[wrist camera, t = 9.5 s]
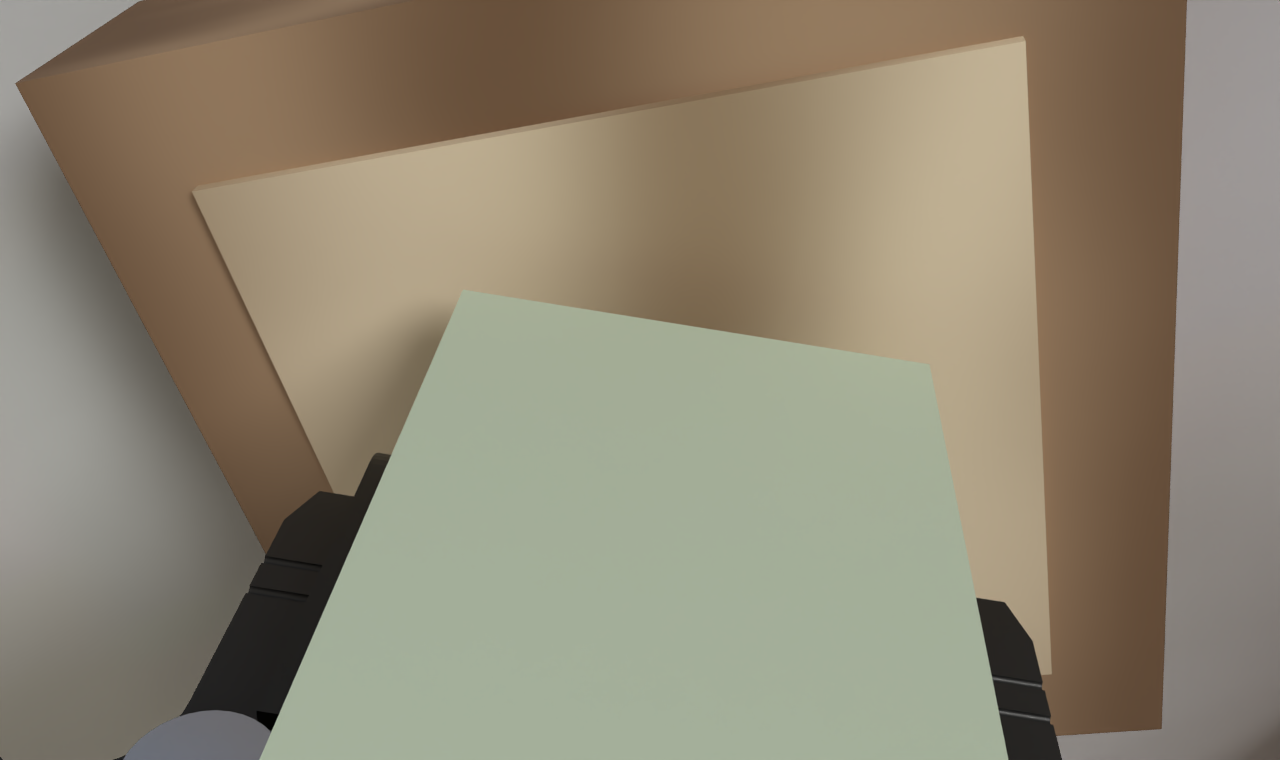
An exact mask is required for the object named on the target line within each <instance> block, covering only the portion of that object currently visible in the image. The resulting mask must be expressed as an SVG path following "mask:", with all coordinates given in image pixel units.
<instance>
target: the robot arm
mask: <svg viewBox="0 0 1280 760" xmlns="http://www.w3.org/2000/svg"><path fill="white" fill-rule="evenodd" d="M390 457H391V455H390V454H383V453H375V454H374V455H373V457H372V458H371V460H370V462H369V464H368V467H367V469H366V471H365V473H364V475H363V478H362V480H361V482H360V484H359V486H358V489H357V491H356V493H355V495H354V496H348V495H342V494H336V493H330V492H323V491H319V492H317V493H316V494H315V495H314V496H312V497H311V498H310V499H309V500H308V501H306V502H305V503H304V504H303V505H301V506H300V507H299V508H298V509H296V510H295V511H294V512H293V513H292V514H290V515H289V516H288V517H287V518H285V519H284V521H283V523H282V524H281V526H280V528H279V530H278V532H277V534H276V536H275V538H274V540H273V542H272V544H271V546H270V548H269V550H268V551H267V553H266V555H265V561H264V563H261V565H260V567H259V569H258V571H257V573H256V575H255V577H254V578H253V580H252V582H251V584H250V589H249V592H248V593H246V594H245V596H244V598H243V600H242V602H241V604H240V605H239V607H238V609H237V611H236V613H235V615H234V617H233V619H232V621H231V623H230V625H229V627H228V629H227V630H226V632H225V634H224V636H223V638H222V640H221V642H220V644H219V646H218V648H217V650H216V652H215V654H214V656H213V657H212V659H211V661H210V663H209V665H208V667H207V669H206V671H205V673H204V675H203V677H202V679H201V681H200V683H199V684H198V686H197V688H196V690H195V692H194V694H193V696H192V698H191V700H190V702H189V703H188V705H187V707H186V708H185V710H184V711H183V713H182V714H181V715H180V717H177V718H174V719H172V720H169V721H167V722H165V723H163V724H161V725H159V726H158V727H156V728H155V729H153V730H151V731H150V732H148V733H147V734H146V735H145V736H144V737H142V738H141V739H140V740H139V741H138V742H137V743H136V744H135V745H134V746H133V747H132V748H131V749H130V750H129V751H128V753H127V754H126V755H125V756H123V757H120V758H117V759H114V760H259V759H260V757H261V755H262V752H263V750H264V748H265V746H266V743H267V741H268V739H269V736H270V734H271V732H272V729H273V727H274V725H275V722H276V720H277V718H278V716H279V713H280V711H281V709H282V706H283V704H284V702H285V699H286V697H287V695H288V692H289V690H290V688H291V686H292V683H293V681H294V679H295V676H296V674H297V672H298V669H299V667H300V665H301V662H302V660H303V658H304V655H305V653H306V651H307V649H308V646H309V644H310V642H311V639H312V637H313V635H314V632H315V630H316V628H317V625H318V623H319V621H320V619H321V616H322V614H323V612H324V609H325V607H326V605H327V602H328V600H329V598H330V595H331V593H332V591H333V589H334V586H335V584H336V582H337V579H338V577H339V575H340V572H341V570H342V568H343V565H344V563H345V561H346V558H347V556H348V554H349V552H350V549H351V547H352V545H353V542H354V540H355V538H356V535H357V533H358V531H359V528H360V526H361V524H362V522H363V519H364V517H365V515H366V512H367V510H368V508H369V505H370V503H371V501H372V498H373V496H374V494H375V492H376V489H377V487H378V485H379V482H380V480H381V478H382V475H383V473H384V471H385V468H386V466H387V464H388V462H389V459H390ZM976 600H977V605H978V610H979V615H980V620H981V625H982V630H983V635H984V640H985V645H986V650H987V655H988V660H989V665H990V670H991V675H992V680H993V685H994V690H995V695H996V700H997V705H998V710H999V715H1000V720H1001V725H1002V730H1003V735H1004V740H1005V745H1006V750H1007V755H1008V760H1062V758H1061V754H1060V750H1059V746H1058V742H1057V738H1056V734H1055V730H1054V726H1053V725H1052V724H1050V718H1051V713H1050V709H1049V705H1048V701H1047V697H1046V693H1045V690H1042V683H1043V681H1042V677H1041V673H1040V669H1039V665H1038V660H1037V656H1036V652H1035V648H1034V644H1033V641H1032V639H1031V638H1030V637H1029V635H1028V634H1027V632H1026V631H1025V630H1024V628H1023V627H1022V625H1021V624H1020V623H1019V621H1018V620H1017V618H1016V617H1015V616H1014V614H1013V613H1012V611H1011V610H1010V609H1009V607H1008V606H1007V604H1006V603H1005V602H1001V601H994V600H988V599H982V598H976ZM0 760H2V758H1V757H0Z"/></svg>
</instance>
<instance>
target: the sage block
mask: <svg viewBox="0 0 1280 760" xmlns="http://www.w3.org/2000/svg"><path fill="white" fill-rule="evenodd" d="M259 760H1008V755H1007V750H1006V745H1005V740H1004V735H1003V730H1002V725H1001V720H1000V715H999V710H998V705H997V700H996V695H995V690H994V685H993V680H992V675H991V670H990V665H989V660H988V655H987V650H986V645H985V640H984V635H983V630H982V625H981V620H980V615H979V610H978V605H977V600H976V595H975V590H974V585H973V580H972V575H971V570H970V565H969V560H968V555H967V550H966V545H965V540H964V535H963V530H962V525H961V520H960V515H959V510H958V505H957V500H956V495H955V490H954V485H953V480H952V475H951V470H950V465H949V460H948V455H947V450H946V445H945V440H944V435H943V430H942V425H941V419H940V414H939V409H938V404H937V399H936V394H935V389H934V384H933V379H932V374H931V369H930V364H925V363H918V362H912V361H906V360H900V359H893V358H887V357H881V356H875V355H868V354H862V353H856V352H850V351H843V350H837V349H831V348H825V347H818V346H812V345H806V344H800V343H793V342H787V341H781V340H775V339H769V338H762V337H756V336H750V335H744V334H737V333H731V332H725V331H719V330H712V329H706V328H700V327H694V326H687V325H681V324H675V323H669V322H662V321H656V320H650V319H644V318H637V317H631V316H625V315H619V314H612V313H606V312H600V311H594V310H588V309H581V308H575V307H569V306H563V305H556V304H550V303H544V302H538V301H531V300H525V299H519V298H513V297H506V296H500V295H494V294H488V293H481V292H475V291H469V290H463V291H462V293H461V295H460V298H459V300H458V302H457V304H456V307H455V309H454V311H453V314H452V316H451V318H450V321H449V323H448V325H447V328H446V330H445V332H444V334H443V337H442V339H441V341H440V344H439V346H438V348H437V351H436V353H435V355H434V358H433V360H432V362H431V365H430V367H429V369H428V371H427V374H426V376H425V378H424V381H423V383H422V385H421V388H420V390H419V392H418V395H417V397H416V399H415V401H414V404H413V406H412V408H411V411H410V413H409V415H408V418H407V420H406V422H405V425H404V427H403V429H402V431H401V434H400V436H399V438H398V441H397V443H396V445H395V448H394V450H393V452H392V455H391V457H390V459H389V462H388V464H387V466H386V468H385V471H384V473H383V475H382V478H381V480H380V482H379V485H378V487H377V489H376V492H375V494H374V496H373V498H372V501H371V503H370V505H369V508H368V510H367V512H366V515H365V517H364V519H363V522H362V524H361V526H360V528H359V531H358V533H357V535H356V538H355V540H354V542H353V545H352V547H351V549H350V552H349V554H348V556H347V558H346V561H345V563H344V565H343V568H342V570H341V572H340V575H339V577H338V579H337V582H336V584H335V586H334V589H333V591H332V593H331V595H330V598H329V600H328V602H327V605H326V607H325V609H324V612H323V614H322V616H321V619H320V621H319V623H318V625H317V628H316V630H315V632H314V635H313V637H312V639H311V642H310V644H309V646H308V649H307V651H306V653H305V655H304V658H303V660H302V662H301V665H300V667H299V669H298V672H297V674H296V676H295V679H294V681H293V683H292V686H291V688H290V690H289V692H288V695H287V697H286V699H285V702H284V704H283V706H282V709H281V711H280V713H279V716H278V718H277V720H276V722H275V725H274V727H273V729H272V732H271V734H270V736H269V739H268V741H267V743H266V746H265V748H264V750H263V752H262V755H261V757H260V759H259Z"/></svg>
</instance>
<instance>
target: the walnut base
mask: <svg viewBox="0 0 1280 760" xmlns="http://www.w3.org/2000/svg"><path fill="white" fill-rule="evenodd" d="M1186 10H1187V0H143V1H139V2H137V3H136V4H134V5H133V6H131V7H130V8H128V9H127V10H125V11H124V12H122V13H121V14H119V15H118V16H116V17H115V18H113V19H112V20H110V21H109V22H107V23H106V24H104V25H103V26H101V27H100V28H98V29H97V30H95V31H94V32H92V33H91V34H89V35H88V36H86V37H85V38H83V39H82V40H80V41H79V42H77V43H76V44H74V45H72V46H71V47H69V48H68V49H66V50H65V51H63V52H62V53H60V54H59V55H57V56H56V57H54V58H53V59H51V60H50V61H48V62H47V63H45V64H44V65H42V66H41V67H39V68H38V69H36V70H35V71H33V72H32V73H30V74H29V75H27V76H26V77H24V78H23V79H21V80H20V81H18V82H17V83H15V84H16V86H17V87H18V89H19V91H20V93H21V95H22V97H23V99H24V101H25V102H26V104H27V106H28V108H29V110H30V112H31V114H32V116H33V117H34V119H35V121H36V123H37V125H38V127H39V129H40V131H41V133H42V134H43V136H44V138H45V140H46V142H47V144H48V146H49V148H50V149H51V151H52V153H53V155H54V157H55V159H56V161H57V163H58V164H59V166H60V168H61V170H62V172H63V174H64V176H65V178H66V179H67V181H68V183H69V185H70V187H71V189H72V191H73V193H74V194H75V196H76V198H77V200H78V202H79V204H80V206H81V208H82V210H83V211H84V213H85V215H86V217H87V219H88V221H89V223H90V225H91V226H92V228H93V230H94V232H95V234H96V236H97V238H98V240H99V241H100V243H101V245H102V247H103V249H104V251H105V253H106V255H107V256H108V258H109V260H110V262H111V264H112V266H113V268H114V270H115V271H116V273H117V275H118V277H119V279H120V281H121V283H122V285H123V287H124V288H125V290H126V292H127V294H128V296H129V298H130V300H131V302H132V303H133V305H134V307H135V309H136V311H137V313H138V315H139V317H140V318H141V320H142V322H143V324H144V326H145V328H146V330H147V332H148V333H149V335H150V337H151V339H152V341H153V343H154V345H155V347H156V348H157V350H158V352H159V354H160V356H161V358H162V360H163V362H164V364H165V365H166V367H167V369H168V371H169V373H170V375H171V377H172V379H173V380H174V382H175V384H176V386H177V388H178V390H179V392H180V394H181V395H182V397H183V399H184V401H185V403H186V405H187V407H188V409H189V410H190V412H191V414H192V416H193V418H194V420H195V422H196V424H197V425H198V427H199V429H200V431H201V433H202V435H203V437H204V439H205V441H206V442H207V444H208V446H209V448H210V450H211V452H212V454H213V456H214V457H215V459H216V461H217V463H218V465H219V467H220V469H221V471H222V472H223V474H224V476H225V478H226V480H227V482H228V484H229V486H230V487H231V489H232V491H233V493H234V495H235V497H236V499H237V501H238V502H239V504H240V506H241V508H242V510H243V512H244V514H245V516H246V518H247V519H248V521H249V523H250V525H251V527H252V529H253V531H254V533H255V534H256V536H257V538H258V540H259V542H260V544H261V546H262V548H263V549H264V551H265V553H267V551H268V550H269V548H270V546H271V544H272V542H273V540H274V538H275V536H276V534H277V532H278V530H279V528H280V526H281V524H282V523H283V521H284V519H285V518H287V517H288V516H289V515H290V514H292V513H293V512H294V511H295V510H296V509H298V508H299V507H300V506H301V505H303V504H304V503H305V502H306V501H308V500H309V499H310V498H311V497H312V496H314V495H315V494H316V493H317V492H319V491H323V492H330V493H336V494H342V495H348V496H354V495H355V493H356V491H357V489H358V486H359V484H360V482H361V480H362V478H363V475H364V473H365V471H366V469H367V467H368V464H369V462H370V460H371V458H372V457H373V455H374V454H375V453H383V454H390V455H392V452H393V450H394V448H395V445H396V443H397V441H398V438H399V436H400V434H401V431H402V429H403V427H404V425H405V422H406V420H407V418H408V415H409V413H410V411H411V408H412V406H413V404H414V401H415V399H416V397H417V395H418V392H419V390H420V388H421V385H422V383H423V381H424V378H425V376H426V374H427V371H428V369H429V367H430V365H431V362H432V360H433V358H434V355H435V353H436V351H437V348H438V346H439V344H440V341H441V339H442V337H443V334H444V332H445V330H446V328H447V325H448V323H449V321H450V318H451V316H452V314H453V311H454V309H455V307H456V304H457V302H458V300H459V298H460V295H461V293H462V291H463V290H469V291H475V292H481V293H488V294H494V295H500V296H506V297H513V298H519V299H525V300H531V301H538V302H544V303H550V304H556V305H563V306H569V307H575V308H581V309H588V310H594V311H600V312H606V313H612V314H619V315H625V316H631V317H637V318H644V319H650V320H656V321H662V322H669V323H675V324H681V325H687V326H694V327H700V328H706V329H712V330H719V331H725V332H731V333H737V334H744V335H750V336H756V337H762V338H769V339H775V340H781V341H787V342H793V343H800V344H806V345H812V346H818V347H825V348H831V349H837V350H843V351H850V352H856V353H862V354H868V355H875V356H881V357H887V358H893V359H900V360H906V361H912V362H918V363H925V364H930V369H931V374H932V379H933V384H934V389H935V394H936V399H937V404H938V409H939V414H940V419H941V425H942V430H943V435H944V440H945V445H946V450H947V455H948V460H949V465H950V470H951V475H952V480H953V485H954V490H955V495H956V500H957V505H958V510H959V515H960V520H961V525H962V530H963V535H964V540H965V545H966V550H967V555H968V560H969V565H970V570H971V575H972V580H973V585H974V590H975V595H976V598H982V599H988V600H994V601H1001V602H1005V603H1006V604H1007V606H1008V607H1009V609H1010V610H1011V611H1012V613H1013V614H1014V616H1015V617H1016V618H1017V620H1018V621H1019V623H1020V624H1021V625H1022V627H1023V628H1024V630H1025V631H1026V632H1027V634H1028V635H1029V637H1030V638H1031V639H1032V641H1033V644H1034V648H1035V652H1036V656H1037V660H1038V665H1039V669H1040V673H1041V677H1042V681H1043V683H1042V690H1045V693H1046V697H1047V701H1048V705H1049V709H1050V713H1051V718H1050V724H1052V725H1053V726H1054V730H1055V734H1056V736H1061V735H1077V734H1092V733H1107V732H1123V731H1138V730H1153V729H1162V701H1163V672H1164V644H1165V615H1166V586H1167V557H1168V528H1169V499H1170V471H1171V442H1172V413H1173V384H1174V355H1175V327H1176V298H1177V269H1178V240H1179V211H1180V182H1181V154H1182V125H1183V96H1184V67H1185V38H1186Z"/></svg>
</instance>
